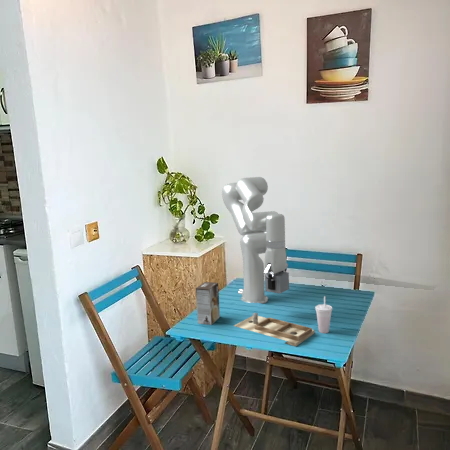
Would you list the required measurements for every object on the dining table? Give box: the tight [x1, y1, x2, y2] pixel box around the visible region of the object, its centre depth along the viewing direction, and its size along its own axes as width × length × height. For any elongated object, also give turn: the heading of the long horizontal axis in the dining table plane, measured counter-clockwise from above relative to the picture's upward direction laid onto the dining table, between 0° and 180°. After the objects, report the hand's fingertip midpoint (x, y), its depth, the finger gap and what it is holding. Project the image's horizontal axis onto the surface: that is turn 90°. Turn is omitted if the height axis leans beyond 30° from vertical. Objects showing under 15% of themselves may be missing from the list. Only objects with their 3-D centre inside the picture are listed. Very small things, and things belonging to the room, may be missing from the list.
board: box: [233, 312, 316, 347], centre depth 169 cm, size 28×14×5 cm, turn 51°
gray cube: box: [264, 271, 290, 295], centre depth 180 cm, size 7×7×7 cm
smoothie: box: [314, 295, 333, 334], centre depth 166 cm, size 6×6×14 cm
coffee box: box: [195, 281, 221, 326], centre depth 179 cm, size 9×6×16 cm
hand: (276, 286), depth 180 cm, fingers closed on gray cube, 7 cm apart
